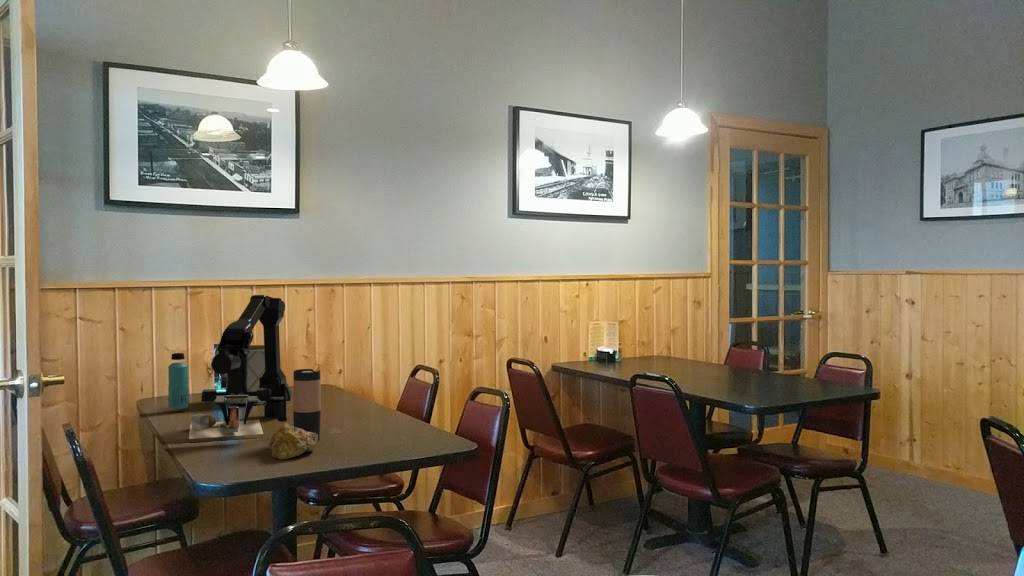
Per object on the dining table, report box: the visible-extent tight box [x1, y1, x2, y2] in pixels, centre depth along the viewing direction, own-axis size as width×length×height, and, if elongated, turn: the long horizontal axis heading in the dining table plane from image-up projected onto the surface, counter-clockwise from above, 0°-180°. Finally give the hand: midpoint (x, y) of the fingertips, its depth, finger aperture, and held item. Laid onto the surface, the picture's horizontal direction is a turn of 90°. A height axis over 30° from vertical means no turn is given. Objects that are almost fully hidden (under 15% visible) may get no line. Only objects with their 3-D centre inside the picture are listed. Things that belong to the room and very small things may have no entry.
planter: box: [224, 344, 266, 406], centre depth 285 cm, size 19×19×20 cm
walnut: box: [208, 414, 217, 427], centre depth 236 cm, size 4×4×4 cm
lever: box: [220, 406, 240, 433], centre depth 232 cm, size 21×3×7 cm, turn 27°
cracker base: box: [188, 413, 264, 444], centre depth 233 cm, size 20×22×5 cm
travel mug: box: [292, 368, 322, 442], centre depth 224 cm, size 8×8×20 cm
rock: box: [268, 422, 318, 460], centre depth 206 cm, size 12×9×10 cm
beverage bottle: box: [167, 352, 190, 410], centre depth 266 cm, size 6×7×20 cm
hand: (235, 424), depth 224 cm, fingers open, 4 cm apart
